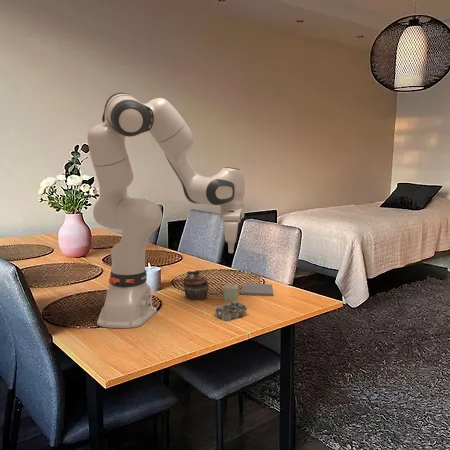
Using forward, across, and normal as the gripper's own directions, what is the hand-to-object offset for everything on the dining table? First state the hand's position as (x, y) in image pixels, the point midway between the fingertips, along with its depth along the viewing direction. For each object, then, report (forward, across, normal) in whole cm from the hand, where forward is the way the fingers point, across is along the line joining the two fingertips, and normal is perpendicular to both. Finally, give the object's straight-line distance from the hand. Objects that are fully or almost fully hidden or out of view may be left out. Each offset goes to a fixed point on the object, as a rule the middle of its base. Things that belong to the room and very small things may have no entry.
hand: (231, 249), depth 168 cm
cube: (+19, 0, 0) cm, 19 cm away
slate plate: (+19, -11, +10) cm, 24 cm away
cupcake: (+19, -1, -13) cm, 23 cm away
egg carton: (+19, +17, 0) cm, 26 cm away
